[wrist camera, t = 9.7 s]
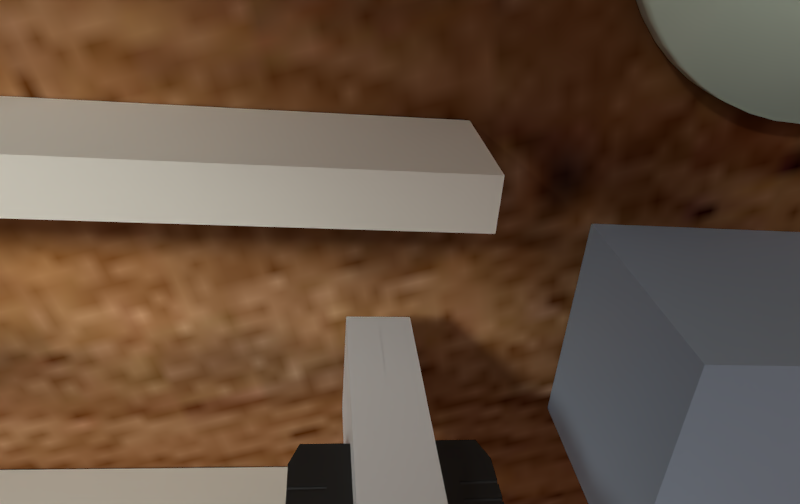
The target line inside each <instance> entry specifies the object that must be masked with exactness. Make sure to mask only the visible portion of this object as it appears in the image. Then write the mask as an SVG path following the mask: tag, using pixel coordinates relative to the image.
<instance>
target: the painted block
mask: <svg viewBox="0 0 800 504" xmlns="http://www.w3.org/2000/svg"><path fill="white" fill-rule="evenodd" d="M548 410H549V413H550V415H551V417H552V420H553V422H554V424H555V427H556V429H557V432H558V434H559V436H560V439H561V441H562V443H563V446H564V448H565V450H566V453H567V455H568V457H569V460H570V462H571V464H572V467H573V469H574V471H575V474H576V476H577V478H578V481H579V483H580V485H581V488H582V490H583V492H584V495H585V497H586V499H587V502H588V504H800V232H786V231H762V230H737V229H712V228H688V227H663V226H639V225H614V224H591V228H590V232H589V236H588V240H587V244H586V249H585V253H584V257H583V261H582V265H581V269H580V274H579V278H578V282H577V286H576V290H575V295H574V299H573V303H572V307H571V311H570V316H569V320H568V324H567V328H566V332H565V337H564V341H563V345H562V349H561V353H560V358H559V362H558V366H557V370H556V374H555V379H554V383H553V387H552V391H551V395H550V400H549V404H548Z"/></svg>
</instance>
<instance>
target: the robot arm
mask: <svg viewBox="0 0 800 504" xmlns="http://www.w3.org/2000/svg"><path fill="white" fill-rule="evenodd" d="M342 413H343V439H344V444H300V445H299V447H298V448H297V450H296V452H295V453H294V455H293V457H292V458H291V460H290V462H289V463H288V471H287V490H286V504H504V502H502V495H501V492H500V488H499V485H498V484H497V478H496V475H495V471H494V468H493V464H492V461H491V458H490V457H489V456H488V455H487V453H486V452H485V451H484V450H483V449H482V447H481V446H480V445H479V444H478V443H477V441H476V440H436V441H435V438H434V433H433V428H432V423H431V418H430V413H429V408H428V404H427V399H426V394H425V389H424V384H423V379H422V374H421V369H420V364H419V359H418V354H417V349H416V345H415V340H414V335H413V330H412V325H411V320H410V317H346V334H345V357H344V380H343V403H342Z"/></svg>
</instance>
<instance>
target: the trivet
mask: <svg viewBox="0 0 800 504" xmlns="http://www.w3.org/2000/svg"><path fill="white" fill-rule="evenodd" d="M636 2H637V5H638V8H639V11H640V13H641V16H642V18H643V20H644V22H645V24H646V26H647V28H648V30H649V32H650V33H651V35H652V37H653V39H654V41H655V42H656V44H657V45H658V46H659V48H660V49H661V50H662V52H663V53H664V54H665V56H666V57H667V58H668V60H669V61H670V62H671V63H672V64H673V65H674V66H675V67H676V68H677V69H678V70H679V71H680V72H681V73H682V74H683V75H684V76H685V77H686V78H687V79H688V80H690V81H691V82H693V83H694V84H695V85H697V86H698V87H700V88H701V89H703V90H704V91H706V92H707V93H709V94H710V95H712V96H714V97H716V98H718V99H720V100H722V101H724V102H726V103H728V104H730V105H732V106H734V107H737V108H739V109H741V110H743V111H745V112H747V113H749V114H753V115H756V116H760V117H763V118H767V119H770V120H774V121H782V122H789V123H797V124H800V0H636Z"/></svg>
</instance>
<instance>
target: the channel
mask: <svg viewBox="0 0 800 504" xmlns="http://www.w3.org/2000/svg"><path fill="white" fill-rule="evenodd" d="M504 177H505V175H504V174H503V172H502V170H501V169H500V167H499V166H498V164H497V163H496V161H495V159H494V158H493V156H492V155H491V153H490V152H489V150H488V148H487V147H486V145H485V144H484V142H483V141H482V139H481V137H480V136H479V134H478V133H477V131H476V130H475V128H474V126H473V125H472V123H471V122H470V120H453V119H434V118H414V117H395V116H376V115H357V114H338V113H318V112H299V111H280V110H261V109H241V108H222V107H203V106H184V105H164V104H145V103H126V102H107V101H88V100H68V99H49V98H30V97H11V96H0V218H6V219H37V220H69V221H101V222H132V223H164V224H196V225H227V226H259V227H291V228H322V229H354V230H386V231H417V232H449V233H481V234H495V233H496V227H497V220H498V214H499V208H500V202H501V195H502V189H503V183H504ZM287 471H288V467H235V468H140V469H45V470H0V504H286V490H287Z"/></svg>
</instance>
